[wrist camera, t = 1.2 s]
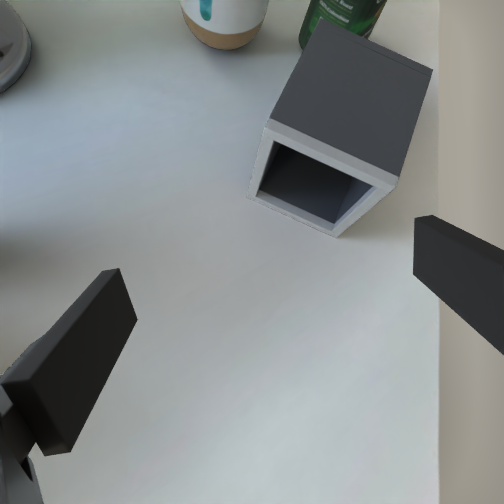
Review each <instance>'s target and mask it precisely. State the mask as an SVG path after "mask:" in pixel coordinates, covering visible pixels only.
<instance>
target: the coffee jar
mask: <svg viewBox="0 0 504 504" xmlns="http://www.w3.org/2000/svg"><path fill="white" fill-rule="evenodd" d="M386 2H387V0H311V2H310V4H309V7H308V10H307V13H306V16H305V19H304V21H303V24H302V27H301V31H300V34H299V43H300V46H301V48H302V49H303V50H304V49H305V47H306V45H307V43H308V41H309V39H310V37H311V35H312V33H313V31H314V29H315V27H316V26H317V24H318V22H319V20H320V18H322V19H324V20H326V21H328V22H331V23H333V24H335V25H337V26H339V27H341V28H344V29H346V30H348V31H350V32H352V33H354V34H357V35H359V36H361V37H363V38H365V39H367V40H368V38H369V36H370V34H371V32H372V30H373V28H374V26H375V24H376V22H377V20H378V18H379V16H380V14H381V12H382V10H383V8H384V6H385V4H386Z"/></svg>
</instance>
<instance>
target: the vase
mask: <svg viewBox="0 0 504 504" xmlns="http://www.w3.org/2000/svg"><path fill="white" fill-rule="evenodd" d="M268 2H269V0H180V4H181V9H182V12H183V16H184V18H185V21H186V23H187V25H188V27H189V28H190V30H191V31H192V33H193V34H194V35H195V36H196V37H197V38H198V39H199V40H200V41H202V42H203V43H205V44H206V45H208V46H210V47H213V48H217V49H222V50H231V49H236V48H239V47H242V46H244V45H245V44H247V43H248V42H250V41H251V40H252V39H253V37H254V36H255V35H256V34H257V32H258V31H259V29H260V27H261V25H262V22H263V20H264V17H265V14H266V10H267V6H268Z"/></svg>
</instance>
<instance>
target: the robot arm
mask: <svg viewBox="0 0 504 504" xmlns="http://www.w3.org/2000/svg"><path fill="white" fill-rule="evenodd" d="M30 55H31V41H30V37H29V34H28V32H27V30H26V28H25V26H24V25H23V23H22V21H21V19H20V18H19V16H18V14H17V13H16V11H15V10H14V9H13V8H12V6H11V5H10V4H9V3H8V2H7V1H6V0H0V93H1V92H3V91H4V90H6V89H7V88H8V87H10V86H11V85H12V84H13V83H14V82H15V81H16V80H17V79H18V78H19V77H20V76H21V75H22V73H23V72H24V70H25V69H26V67H27V65H28V62H29V59H30ZM413 275H414V276H416V277H417V278H418V279H419V280H420V281H421V282H422V283H423V284H424V285H426V286H427V287H428V288H429V289H430V290H431V291H432V292H433V293H435V294H436V295H437V296H438V297H439V298H440V299H441V300H442V301H444V302H445V303H446V304H447V305H448V306H449V307H450V308H451V309H453V310H454V311H455V312H456V313H457V314H458V315H459V316H461V318H463V319H464V320H465V321H466V322H467V323H468V324H469V325H470V326H472V327H473V328H474V329H475V330H476V331H477V332H478V333H479V334H480V335H482V336H483V337H484V338H485V339H486V340H487V341H488V342H489V343H491V344H492V345H493V346H494V347H495V348H496V349H497V350H498V351H499V352H501V353H502V354H503V355H504V250H502V249H500V248H498V247H496V246H494V245H491V244H490V243H488V242H486V241H484V240H482V239H480V238H478V237H476V236H474V235H472V234H470V233H468V232H466V231H464V230H462V229H460V228H458V227H456V226H454V225H452V224H450V223H448V222H446V221H444V220H442V219H440V218H438V217H436V216H434V215H429V216H423V217H417V218H415V222H414V259H413ZM137 320H138V319H137V316H136V313H135V311H134V308H133V305H132V302H131V300H130V297H129V294H128V291H127V289H126V286H125V283H124V280H123V278H122V275H121V272H120V269H119V268H117V269H111V270H105V271H102V272H101V273H100V274H99V275H98V276H97V277H96V279H95V280H94V281H93V282H92V283H91V284H90V285H89V286H88V287H87V289H86V290H85V291H84V292H83V293H82V294H81V295H80V296H79V297H78V299H77V300H76V301H75V302H74V303H73V304H72V305H71V306H70V307H69V308H68V310H67V311H66V312H65V313H64V314H63V315H62V316H61V317H60V318H59V320H58V321H57V322H56V323H55V324H54V325H53V326H52V327H51V328H50V330H49V331H48V332H47V333H46V334H45V335H43V336H42V337H40V338H39V339H38V340H36V341H35V342H33V343H32V344H31V345H30V346H29V347H28V348H27V349H26V350H25V351H24V352H23V353H22V354H21V355H20V358H17V360H16V361H15V362H14V363H13V364H12V367H9V368H8V369H7V370H6V371H5V372H4V374H3V375H2V376H1V377H0V504H44V503H43V499H42V495H41V492H40V488H39V484H38V480H37V476H36V473H35V469H34V465H33V462H32V461H31V459H30V458H29V456H28V454H29V452H30V450H31V449H32V447H33V446H34V444H35V443H37V445H38V446H39V448H40V449H41V451H42V453H43V454H44V456H49V455H56V454H62V453H69V452H71V450H72V448H73V446H74V444H75V442H76V440H77V438H78V436H79V434H80V432H81V430H82V428H83V426H84V425H85V423H86V421H87V419H88V417H89V415H90V413H91V411H92V409H93V407H94V405H95V403H96V401H97V399H98V397H99V395H100V393H101V391H102V389H103V387H104V385H105V383H106V381H107V379H108V377H109V375H110V373H111V371H112V369H113V367H114V365H115V363H116V361H117V359H118V358H119V356H120V354H121V352H122V350H123V348H124V346H125V344H126V342H127V340H128V338H129V336H130V334H131V332H132V330H133V328H134V326H135V324H136V322H137Z"/></svg>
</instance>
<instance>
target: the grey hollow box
mask: <svg viewBox="0 0 504 504" xmlns="http://www.w3.org/2000/svg"><path fill="white" fill-rule="evenodd" d="M432 72H433V69H431V68H428V67H426V66H424V65H422V64H420V63H417V62H415V61H413V60H411V59H409V58H407V57H404V56H402V55H400V54H398V53H396V52H394V51H391V50H389V49H387V48H385V47H383V46H381V45H378V44H376V43H374V42H372V41H370V40H367V39H365V38H363V37H361V36H359V35H357V34H354V33H352V32H350V31H348V30H346V29H344V28H341V27H339V26H337V25H335V24H333V23H331V22H328V21H326V20H324V19H322V18H320V20H319V22H318V24H317V26H316V27H315V29H314V31H313V33H312V35H311V37H310V39H309V41H308V43H307V45H306V47H305V49H304V51H303V53H302V55H301V57H300V59H299V61H298V63H297V64H296V66H295V68H294V70H293V72H292V74H291V76H290V78H289V80H288V82H287V84H286V86H285V88H284V90H283V92H282V94H281V96H280V98H279V100H278V101H277V103H276V105H275V107H274V109H273V111H272V113H271V115H270V117H269V119H268V121H267V123H266V125H265V127H264V130H263V135H262V138H261V142H260V146H259V150H258V154H257V157H256V161H255V165H254V169H253V173H252V177H251V181H250V184H249V188H248V192H247V196H246V197H247V198H250V199H252V200H254V201H256V202H258V203H260V204H263V205H265V206H267V207H269V208H271V209H274V210H276V211H278V212H280V213H282V214H284V215H287V216H289V217H291V218H293V219H295V220H298V221H300V222H302V223H304V224H306V225H309V226H311V227H313V228H315V229H317V230H319V231H322V232H324V233H326V234H328V235H330V236H333V237H335V238H337V237H338V236H339V235H340V234H341V233H343V232H344V231H345V230H346V229H347V228H348V227H350V226H351V225H352V224H353V223H354V222H356V221H357V220H358V219H359V218H360V217H361V216H363V215H364V214H365V213H366V212H367V211H368V210H370V209H371V208H372V207H373V206H374V205H376V204H377V203H378V202H379V201H380V200H381V199H383V198H384V197H385V196H386V195H387V194H388V193H390V192H391V191H392V190H393V189H394V188H396V185H397V182H398V179H399V176H400V173H401V170H402V166H403V163H404V160H405V157H406V154H407V151H408V148H409V144H410V141H411V138H412V135H413V132H414V129H415V126H416V122H417V119H418V116H419V113H420V110H421V107H422V104H423V100H424V97H425V94H426V91H427V88H428V85H429V82H430V78H431V75H432Z"/></svg>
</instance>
